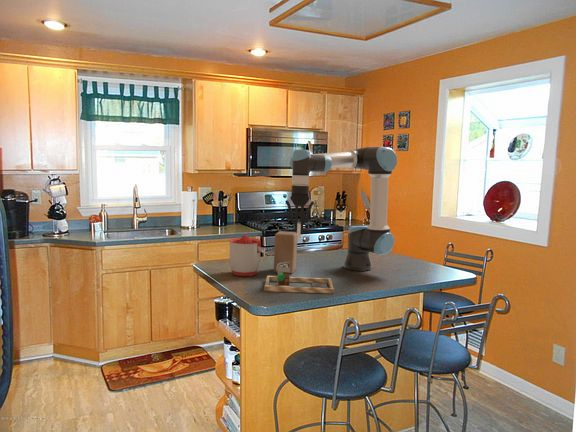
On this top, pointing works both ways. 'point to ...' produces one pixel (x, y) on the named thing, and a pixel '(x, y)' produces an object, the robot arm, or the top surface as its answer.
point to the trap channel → (317, 287)
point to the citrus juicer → (245, 255)
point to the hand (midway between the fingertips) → (298, 237)
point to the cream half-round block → (283, 273)
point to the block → (285, 249)
